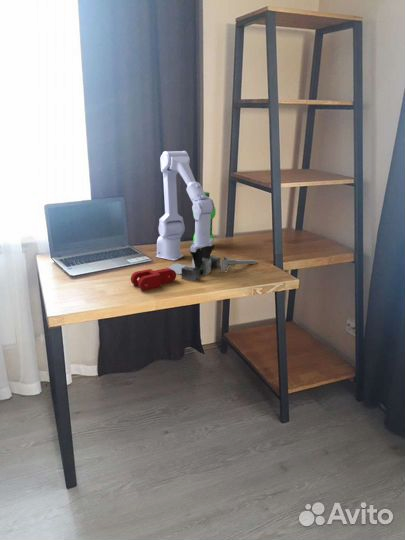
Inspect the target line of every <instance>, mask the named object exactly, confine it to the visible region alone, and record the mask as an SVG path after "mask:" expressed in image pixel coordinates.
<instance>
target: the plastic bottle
mask: <svg viewBox="0 0 405 540" xmlns="http://www.w3.org/2000/svg"><path fill="white" fill-rule="evenodd" d="M204 193H205V194H206V196H208V197H209V198H210V192H208V191H204ZM216 210H217V209H216V207H215V205H214V211H213V213H212V214H211V222H210V238H213V243H215V242H214V241H215V237H214V234H213V219H214V218H215V216H216ZM192 216H193V217H194V213H193V212H192ZM192 238H193V239H192V240H193V241H192V242H193V243H194V242H195V233H193V236H192Z"/></svg>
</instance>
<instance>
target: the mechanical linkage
mask: <svg viewBox="0 0 405 540" xmlns="http://www.w3.org/2000/svg"><path fill="white" fill-rule="evenodd" d="M176 278H177V274H176V272H175V271H174V270H172V269H170V268H168V267H166V268H160V269H157V270H153V269H152V268H149V269H147V268H146V269H143V270H139V271H138V270H137V271H135V272H133V273H131V276H130V283H132V285H134V286H135V287H138V288H139V289H140V290H141V291H143V292H146V291H150V290H156V289H159V288H161V287H162V285H165V284H170V283H173V282H175V280H176Z"/></svg>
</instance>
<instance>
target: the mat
mask: <svg viewBox="0 0 405 540" xmlns="http://www.w3.org/2000/svg"><path fill="white" fill-rule="evenodd" d="M185 266H187V267H192V265H191V266H190V265H186V264H185V265H184V264H180V263H173V264H172V265H170V266H168V267H167V268H170V269H172V270H174V271H175V272H176V276H177V275H178V276H181V275H182V268H183V267H185Z"/></svg>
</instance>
